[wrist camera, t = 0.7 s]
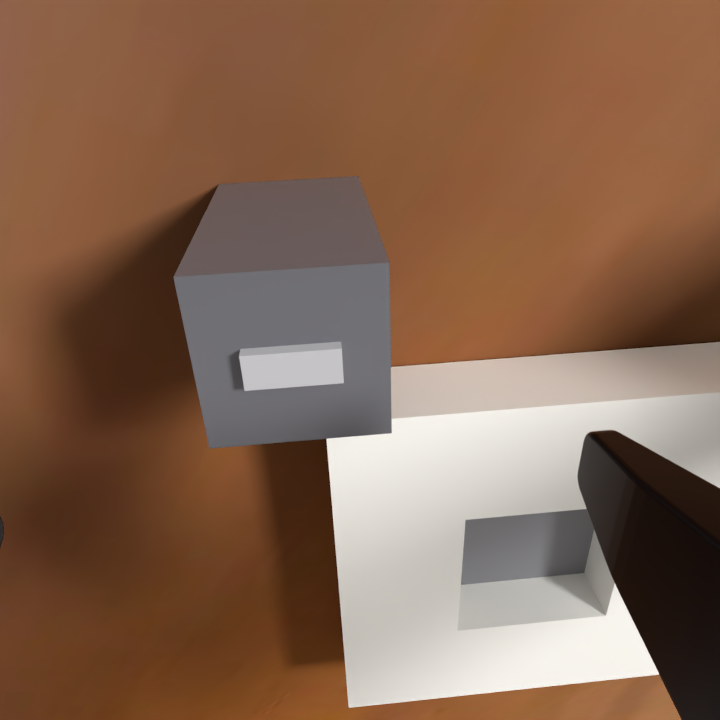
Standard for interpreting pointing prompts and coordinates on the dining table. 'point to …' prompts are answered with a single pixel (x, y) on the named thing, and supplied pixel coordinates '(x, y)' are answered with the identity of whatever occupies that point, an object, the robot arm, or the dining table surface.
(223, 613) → the dining table surface
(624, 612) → the outlet plate
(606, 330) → the dining table surface
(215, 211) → the grey square peg
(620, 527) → the robot arm
